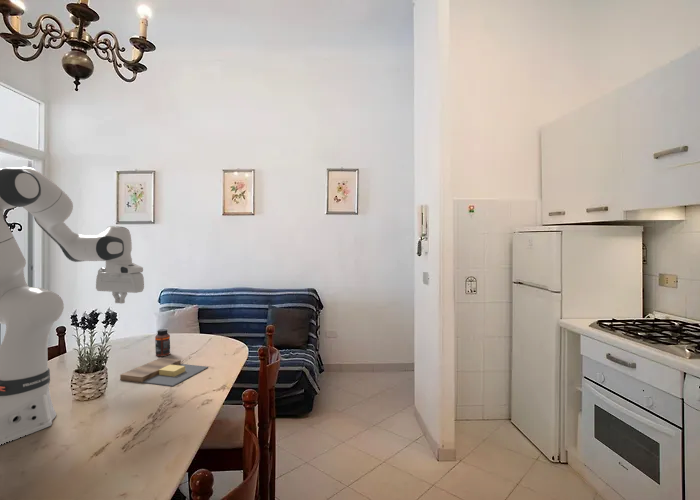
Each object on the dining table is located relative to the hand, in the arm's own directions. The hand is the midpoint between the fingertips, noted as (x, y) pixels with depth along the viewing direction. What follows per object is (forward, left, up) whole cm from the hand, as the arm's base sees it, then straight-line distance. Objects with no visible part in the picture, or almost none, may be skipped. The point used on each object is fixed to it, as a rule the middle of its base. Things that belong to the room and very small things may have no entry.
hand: (119, 303), depth 147 cm
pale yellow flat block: (+3, -21, -27) cm, 34 cm away
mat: (+3, -24, -27) cm, 36 cm away
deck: (+3, -12, -27) cm, 30 cm away
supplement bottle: (+22, 0, -27) cm, 35 cm away
